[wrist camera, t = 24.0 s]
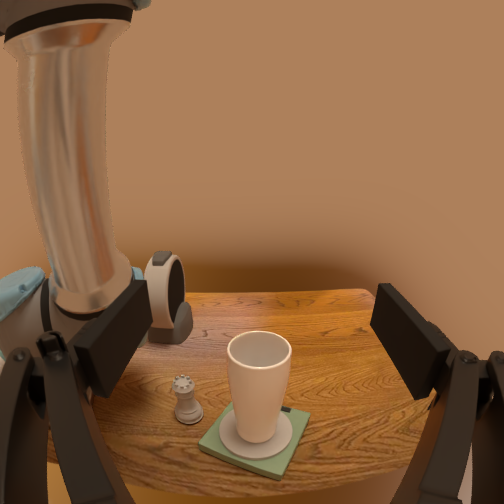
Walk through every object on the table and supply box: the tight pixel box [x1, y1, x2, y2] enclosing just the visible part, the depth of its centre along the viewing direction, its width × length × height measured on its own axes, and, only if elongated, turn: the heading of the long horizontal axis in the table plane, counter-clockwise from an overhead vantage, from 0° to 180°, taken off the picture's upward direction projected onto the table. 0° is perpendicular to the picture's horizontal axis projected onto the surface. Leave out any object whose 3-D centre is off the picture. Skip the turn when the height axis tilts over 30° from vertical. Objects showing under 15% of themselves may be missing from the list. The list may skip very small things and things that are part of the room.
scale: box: [198, 401, 311, 481], centre depth 32 cm, size 12×12×3 cm
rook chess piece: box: [172, 375, 203, 424], centre depth 35 cm, size 4×4×8 cm
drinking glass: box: [227, 331, 292, 443], centre depth 29 cm, size 7×7×15 cm
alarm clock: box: [144, 251, 193, 344], centre depth 58 cm, size 16×10×18 cm, turn 0°
